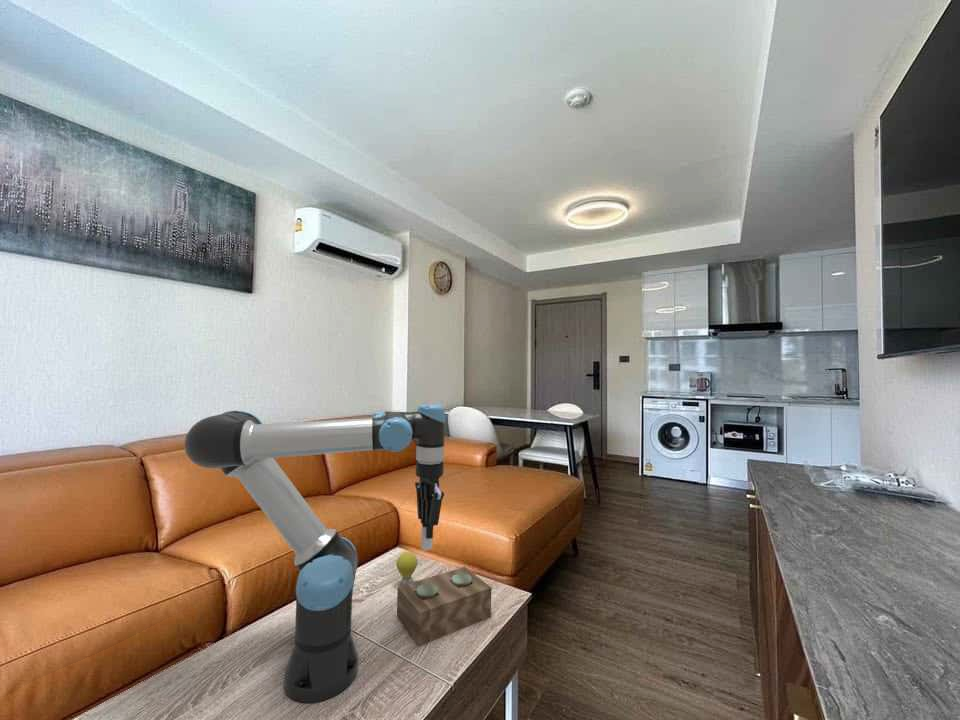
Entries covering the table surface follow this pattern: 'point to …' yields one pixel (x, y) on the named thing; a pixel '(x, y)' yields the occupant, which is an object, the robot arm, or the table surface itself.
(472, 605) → the socket block
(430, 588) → the near plunger
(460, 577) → the far plunger
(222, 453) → the robot arm
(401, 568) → the yellow light bulb
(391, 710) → the table surface
